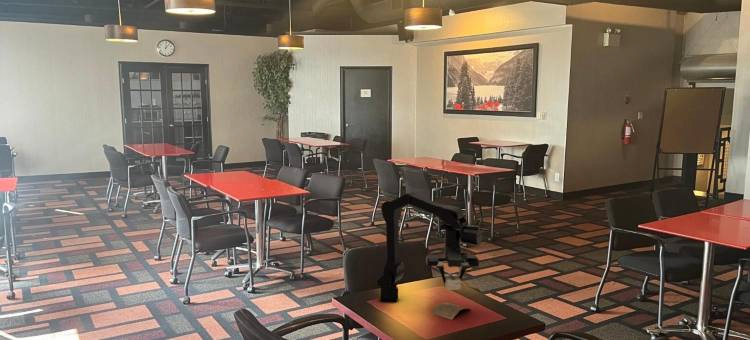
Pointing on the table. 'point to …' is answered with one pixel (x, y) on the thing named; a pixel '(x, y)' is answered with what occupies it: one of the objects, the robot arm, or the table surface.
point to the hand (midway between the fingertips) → (451, 283)
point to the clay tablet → (447, 310)
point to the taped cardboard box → (452, 282)
